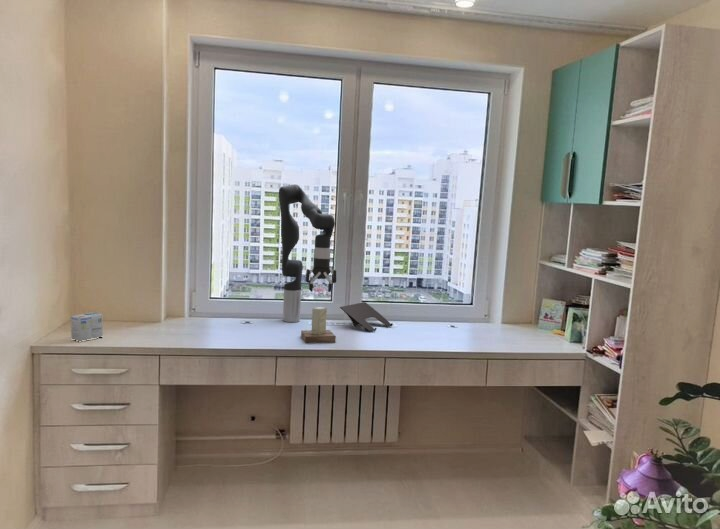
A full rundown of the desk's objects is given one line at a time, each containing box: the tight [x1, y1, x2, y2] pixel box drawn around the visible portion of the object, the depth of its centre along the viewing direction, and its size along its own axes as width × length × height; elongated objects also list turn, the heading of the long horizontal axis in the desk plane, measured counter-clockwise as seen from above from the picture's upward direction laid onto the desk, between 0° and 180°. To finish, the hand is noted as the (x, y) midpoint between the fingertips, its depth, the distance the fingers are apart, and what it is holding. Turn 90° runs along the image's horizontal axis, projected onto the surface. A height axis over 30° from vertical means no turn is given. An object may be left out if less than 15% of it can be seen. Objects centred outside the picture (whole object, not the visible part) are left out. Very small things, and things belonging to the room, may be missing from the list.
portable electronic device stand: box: [339, 301, 393, 333], centre depth 275 cm, size 23×23×9 cm
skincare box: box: [311, 306, 327, 335], centre depth 241 cm, size 6×4×12 cm
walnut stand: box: [300, 329, 337, 344], centre depth 241 cm, size 12×14×3 cm
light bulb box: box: [70, 311, 104, 341], centre depth 221 cm, size 11×7×11 cm, turn 152°
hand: (320, 291), depth 239 cm, fingers open, 8 cm apart
